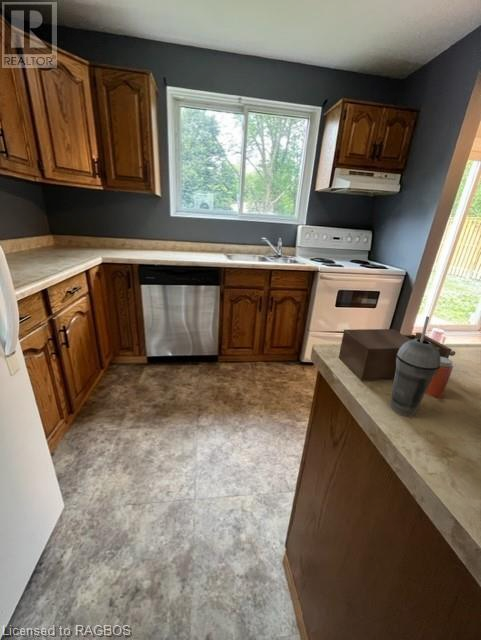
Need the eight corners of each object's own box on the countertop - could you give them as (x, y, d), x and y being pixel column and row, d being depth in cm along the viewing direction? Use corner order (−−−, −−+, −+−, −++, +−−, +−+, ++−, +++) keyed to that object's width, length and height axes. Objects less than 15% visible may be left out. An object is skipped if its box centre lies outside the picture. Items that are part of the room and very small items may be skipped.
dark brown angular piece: (426, 353, 79) (433, 332, 77) (457, 372, 70) (466, 348, 67) (370, 355, 77) (376, 333, 74) (395, 374, 67) (402, 350, 65)
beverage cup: (387, 417, 53) (415, 322, 46) (379, 395, 60) (402, 310, 53) (428, 424, 52) (463, 328, 45) (415, 401, 59) (443, 314, 52)
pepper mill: (433, 386, 64) (444, 355, 61) (447, 397, 61) (459, 364, 58) (418, 387, 64) (428, 355, 61) (431, 398, 60) (443, 364, 57)
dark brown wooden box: (385, 356, 78) (393, 329, 75) (415, 378, 68) (425, 347, 65) (338, 357, 76) (344, 329, 73) (361, 380, 65) (368, 348, 62)
